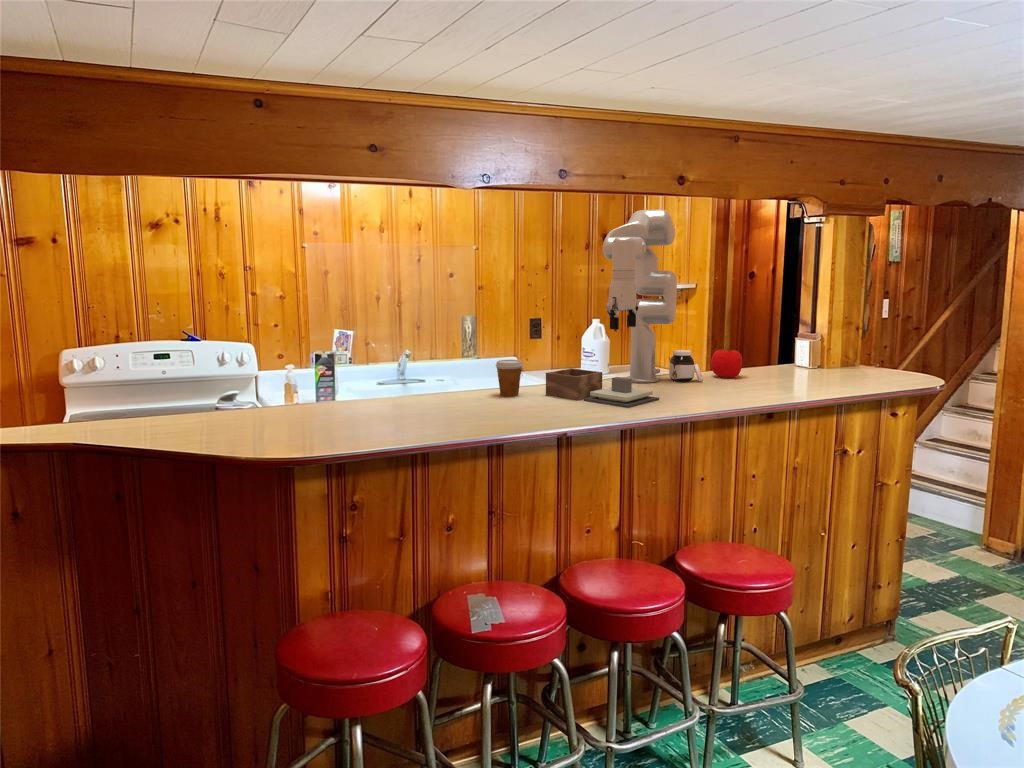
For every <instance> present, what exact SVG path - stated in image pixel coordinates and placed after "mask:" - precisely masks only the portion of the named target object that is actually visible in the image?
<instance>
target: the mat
mask: <svg viewBox="0 0 1024 768" xmlns="http://www.w3.org/2000/svg"><path fill="white" fill-rule="evenodd" d="M659 400H660V397H657V396H653V395H650V396H646V397H644V398H641V399H637V400H633V401H629V402H619V401H613V400H606V399H600V398H598V397H597V396H592V397H588V398H584V399H583V402H587V403H593V404H594V403H596V404H601V405H608V406H613V407H621V408H626V409H629V408H634V407H637V406H641V405H645V404H648V403H652V402H656V401H659Z"/></svg>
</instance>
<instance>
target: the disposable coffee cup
mask: <svg viewBox="0 0 1024 768" xmlns="http://www.w3.org/2000/svg"><path fill="white" fill-rule="evenodd" d="M495 367H496V370H497V371H496V373H497V378H498V386H499V394H500V396H501V397H505V398H506V397H507V398H510V397H512V398H513V397H519V393H520V392H519V390H520V383H521V374H522V368H523V362H522V360H518V359H500V360H497V361H496V364H495Z"/></svg>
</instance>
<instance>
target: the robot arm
mask: <svg viewBox="0 0 1024 768" xmlns="http://www.w3.org/2000/svg"><path fill="white" fill-rule="evenodd" d="M675 238H676V230H675V225H674V223H673V219H672V217H671V214H670V213H669V211H667V210H665V209H663V208H662V209H661V208H660V209H641V210H636V211H635V212H633V213H632V215H631V216H630V218H629V219H628V222H627V223H626V224H623V225H621V226H618V227H615V228H614V229H612V230H610V231H609V232H608V233H607V235H606V237H604V241H603V244H602V254H603V256H604V258H606V259H607V260H611V261H612V263H611V264H612V265H611V267H612V271H611V281H610V285H609V288H608V289H609V291H608V301H607V303H606V305H605V307H606V310H607V314H608V317H609V330H615V331H617V330H619V329H620V328H619V327H620V317H619V314H620V313H621V312H623V311H626V312H627V314H626V317H627V318H626V326H627V327H629V328H630V366H629V369H630V370H629V375H627V376H626V377H625V378H630V379H632V383H637V384H650V383H652V384H653V383H658V382H659V381H660V378H659V377H658V376H656V375H657V374H661V369H660V368H656V351H657V350H656V347H657V346H656V345H657V344H656V343H657V335H656V333H655V330H654V329H653V328H652V327H651V325H671V324H673V323H674V321H675V319H676V314H677V313H676V312H677V294H678V293H677V291H678V280H677V279H678V278H677V276H676V274H675V272H674V271H672V270H659V269H658V267H659V266H658V265H659V257H658V255H657V253H656V252H655V250H654V249H653V248H652V247H653V246H655V247H657V246H659V247H660V246H665V247H666V246H670V245H672V244H673V242H674V241H675ZM651 246H652V247H651ZM637 295H639V296H651V297H655V296H658V297H660V296H661V297H663V298H657V299H656V298H637Z"/></svg>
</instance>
